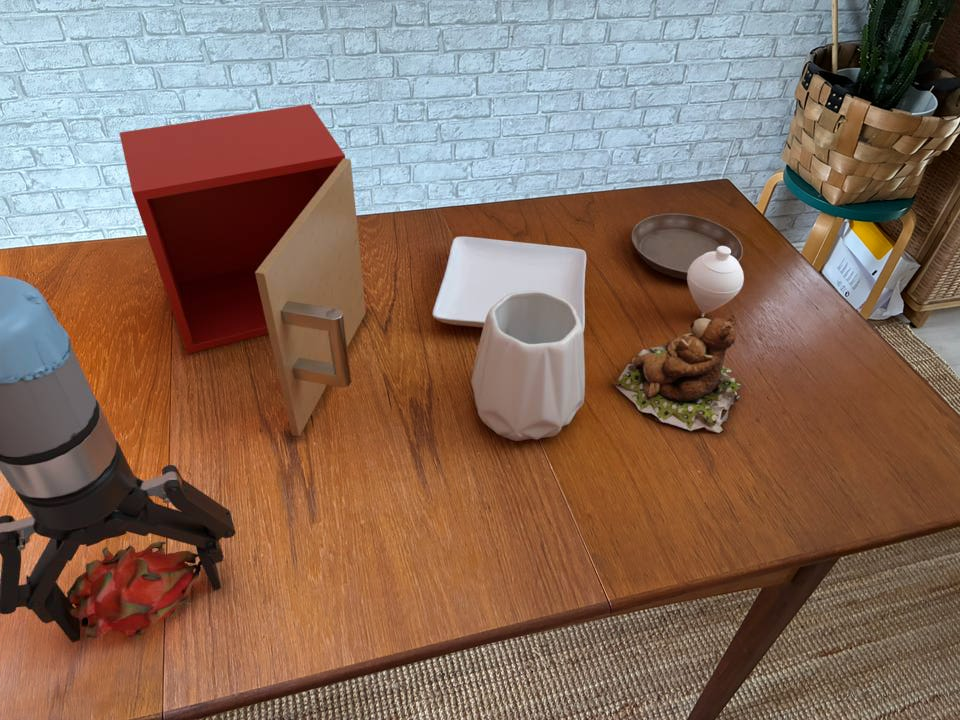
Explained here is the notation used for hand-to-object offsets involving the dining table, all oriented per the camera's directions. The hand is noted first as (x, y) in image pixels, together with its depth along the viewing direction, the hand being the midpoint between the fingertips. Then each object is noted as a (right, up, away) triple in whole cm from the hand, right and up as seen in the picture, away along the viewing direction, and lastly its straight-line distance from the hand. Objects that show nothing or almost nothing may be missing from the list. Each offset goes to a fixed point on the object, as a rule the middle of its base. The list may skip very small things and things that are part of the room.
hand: (147, 602), depth 68 cm
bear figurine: (+58, +19, +25) cm, 66 cm away
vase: (+38, +17, +21) cm, 47 cm away
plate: (+37, +33, +38) cm, 62 cm away
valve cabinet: (+1, +33, +36) cm, 48 cm away
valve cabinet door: (+16, +22, +25) cm, 37 cm away
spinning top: (+65, +30, +36) cm, 80 cm away
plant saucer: (+66, +40, +48) cm, 91 cm away
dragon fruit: (0, 0, 0) cm, 1 cm away
